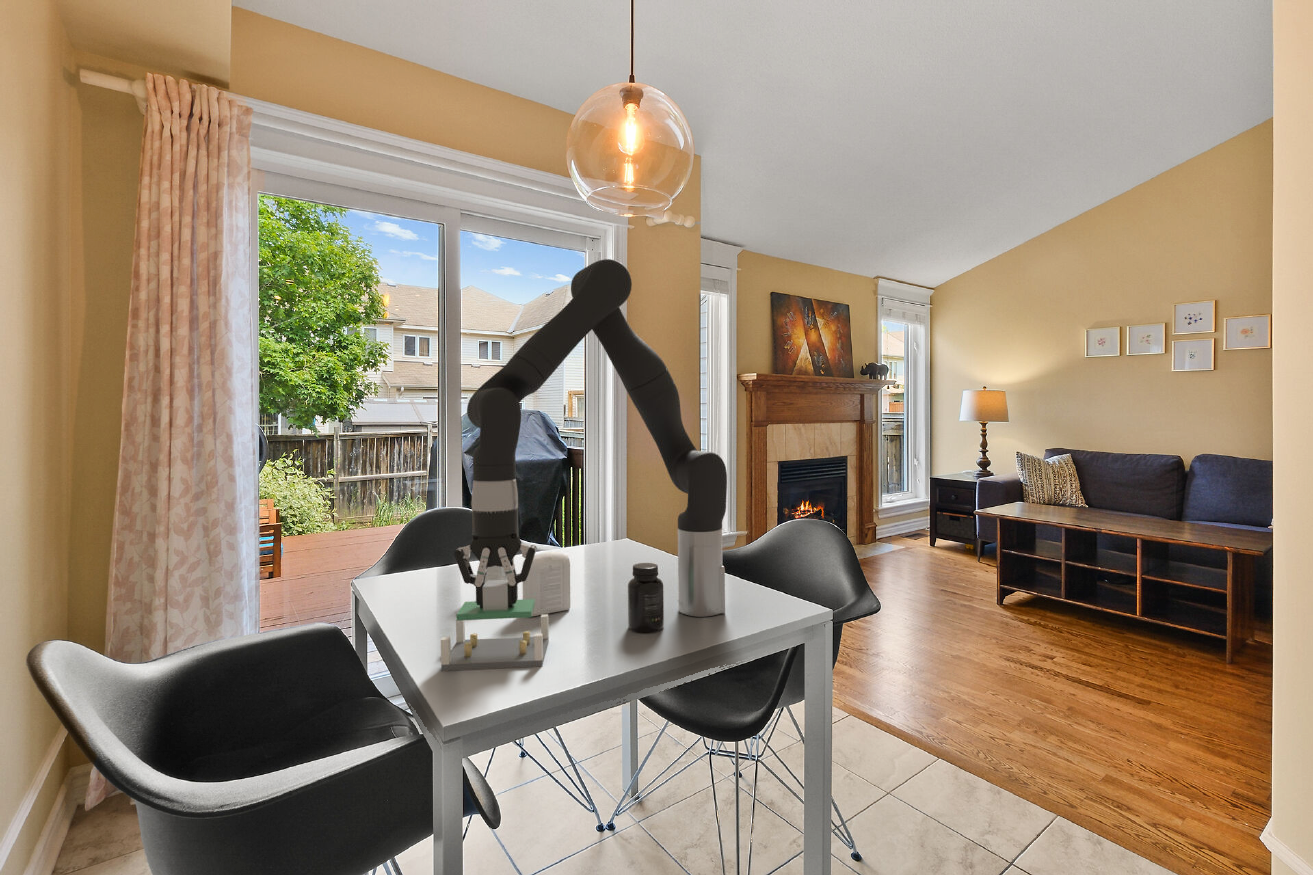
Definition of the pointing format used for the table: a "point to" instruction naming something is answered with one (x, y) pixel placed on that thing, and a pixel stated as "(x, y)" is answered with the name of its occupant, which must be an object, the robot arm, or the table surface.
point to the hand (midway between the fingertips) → (497, 606)
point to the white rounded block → (548, 583)
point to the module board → (496, 614)
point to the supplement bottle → (645, 599)
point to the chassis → (494, 650)
